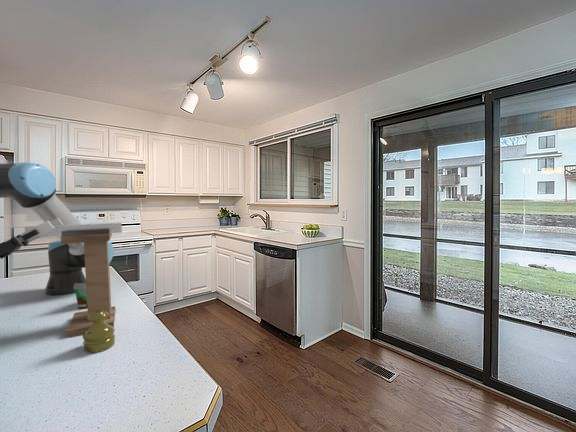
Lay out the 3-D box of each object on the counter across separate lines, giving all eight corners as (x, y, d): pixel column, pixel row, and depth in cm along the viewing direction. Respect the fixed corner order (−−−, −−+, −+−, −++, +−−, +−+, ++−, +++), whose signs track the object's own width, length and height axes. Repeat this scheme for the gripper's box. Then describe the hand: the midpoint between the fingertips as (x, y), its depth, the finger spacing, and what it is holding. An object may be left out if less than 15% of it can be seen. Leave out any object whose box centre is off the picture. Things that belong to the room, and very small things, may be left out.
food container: (88, 311, 107) (87, 284, 106) (74, 310, 108) (72, 283, 107) (114, 299, 119) (113, 275, 118) (102, 298, 120) (100, 275, 119)
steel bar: (28, 236, 86) (27, 226, 86) (121, 231, 98) (121, 222, 97) (25, 238, 83) (24, 227, 83) (121, 232, 95) (121, 223, 95)
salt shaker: (86, 343, 83) (85, 308, 82) (117, 338, 86) (115, 304, 85) (80, 356, 76) (78, 318, 76) (113, 349, 79) (111, 314, 79)
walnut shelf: (75, 318, 100) (69, 227, 98) (115, 311, 106) (111, 225, 104) (66, 337, 86) (60, 232, 84) (113, 328, 92) (108, 229, 90)
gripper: (1, 266, 92) (71, 229, 100) (-39, 287, 70) (55, 237, 78) (-17, 247, 89) (56, 210, 98) (-64, 262, 68) (36, 214, 76)
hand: (56, 222), depth 88 cm, fingers open, 13 cm apart
